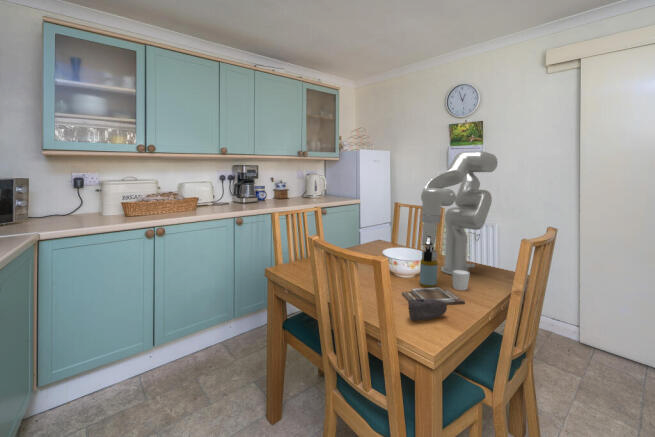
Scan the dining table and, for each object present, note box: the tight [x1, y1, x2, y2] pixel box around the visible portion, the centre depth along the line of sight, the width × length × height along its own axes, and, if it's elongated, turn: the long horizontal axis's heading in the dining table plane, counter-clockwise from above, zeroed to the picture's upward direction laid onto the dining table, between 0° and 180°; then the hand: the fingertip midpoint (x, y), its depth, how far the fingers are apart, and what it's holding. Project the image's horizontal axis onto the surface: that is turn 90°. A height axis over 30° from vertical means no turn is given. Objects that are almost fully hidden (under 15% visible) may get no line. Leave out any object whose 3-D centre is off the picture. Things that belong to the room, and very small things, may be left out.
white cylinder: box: [451, 270, 471, 291], centre depth 132 cm, size 7×7×7 cm
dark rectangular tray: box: [401, 286, 466, 306], centre depth 122 cm, size 20×12×2 cm, turn 98°
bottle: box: [419, 249, 439, 288], centre depth 135 cm, size 7×7×15 cm
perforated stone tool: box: [407, 299, 448, 322], centre depth 106 cm, size 15×5×7 cm, turn 101°
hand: (428, 258), depth 134 cm, fingers open, 9 cm apart
